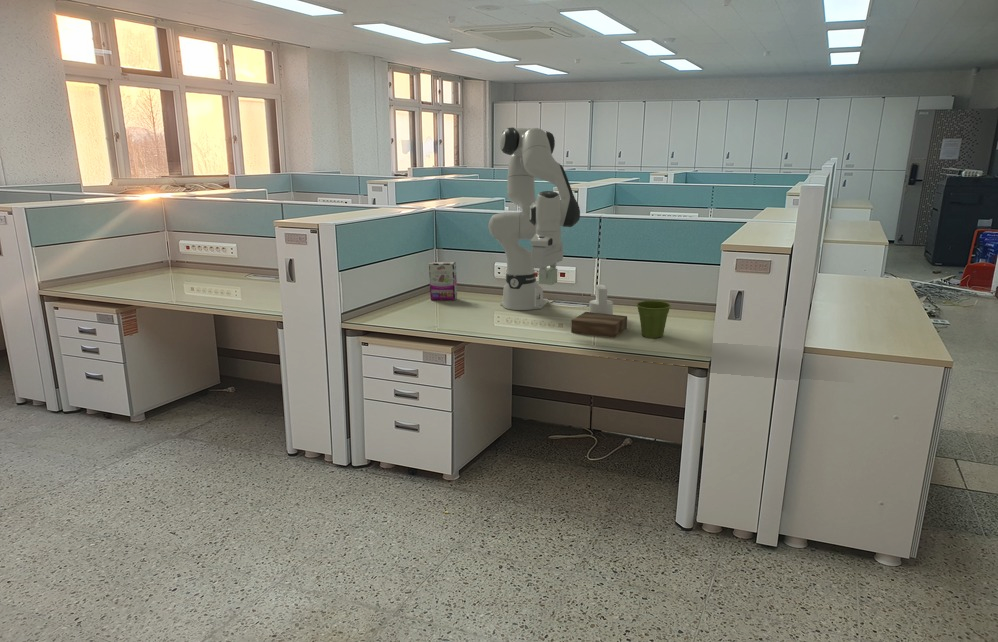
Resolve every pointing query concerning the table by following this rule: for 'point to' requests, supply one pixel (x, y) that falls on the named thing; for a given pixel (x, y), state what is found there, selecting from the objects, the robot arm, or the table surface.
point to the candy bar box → (443, 281)
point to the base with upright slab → (601, 302)
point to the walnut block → (599, 324)
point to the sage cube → (549, 277)
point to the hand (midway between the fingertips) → (548, 277)
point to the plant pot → (653, 317)
